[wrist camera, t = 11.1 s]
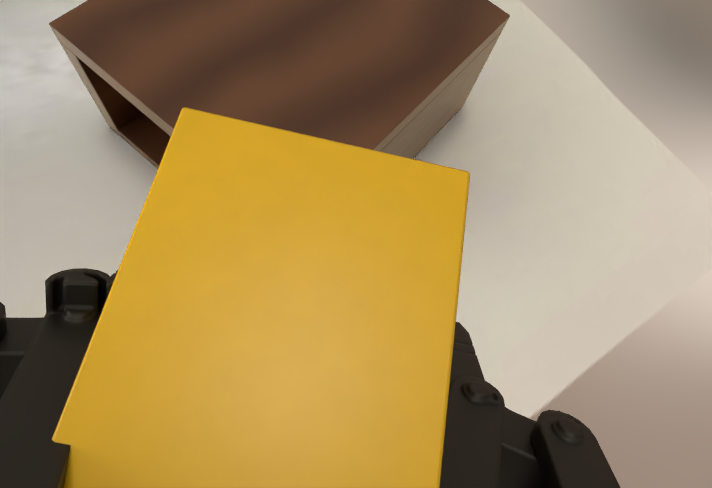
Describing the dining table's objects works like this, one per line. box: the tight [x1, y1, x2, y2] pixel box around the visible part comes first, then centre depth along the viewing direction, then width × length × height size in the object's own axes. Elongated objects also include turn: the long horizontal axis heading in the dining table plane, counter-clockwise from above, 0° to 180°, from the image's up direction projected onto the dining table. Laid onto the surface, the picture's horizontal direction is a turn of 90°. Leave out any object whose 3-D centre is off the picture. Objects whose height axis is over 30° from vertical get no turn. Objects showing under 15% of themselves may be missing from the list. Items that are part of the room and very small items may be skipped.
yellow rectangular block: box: [52, 107, 470, 488], centre depth 14 cm, size 6×8×12 cm
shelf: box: [49, 0, 510, 168], centre depth 37 cm, size 20×23×10 cm
